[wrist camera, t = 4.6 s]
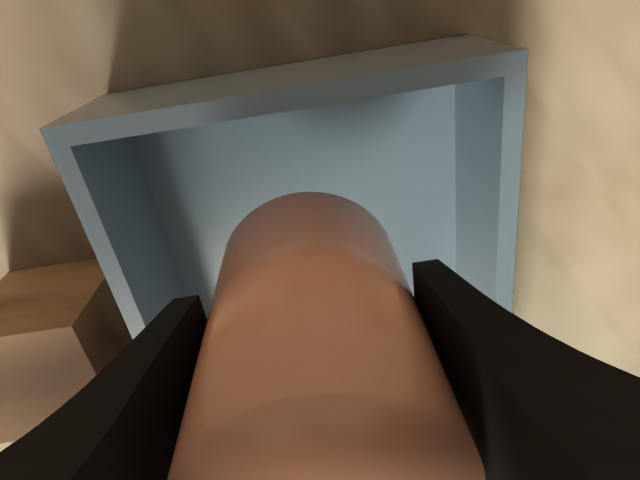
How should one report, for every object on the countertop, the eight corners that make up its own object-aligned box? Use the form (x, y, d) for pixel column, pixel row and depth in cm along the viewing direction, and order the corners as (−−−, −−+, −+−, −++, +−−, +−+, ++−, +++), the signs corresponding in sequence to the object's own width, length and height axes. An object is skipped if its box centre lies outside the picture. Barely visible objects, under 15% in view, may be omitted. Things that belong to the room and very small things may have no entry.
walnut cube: (156, 340, 22) (122, 425, 18) (57, 356, 23) (-1, 443, 18) (120, 253, 20) (71, 326, 16) (9, 270, 20) (-70, 347, 16)
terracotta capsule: (402, 190, 12) (516, 385, 6) (387, 336, 15) (459, 583, 9) (214, 193, 12) (136, 399, 6) (229, 341, 14) (185, 600, 8)
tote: (464, 381, 25) (501, 466, 20) (222, 416, 25) (206, 507, 21) (465, 34, 16) (528, 48, 12) (106, 93, 17) (39, 128, 12)
